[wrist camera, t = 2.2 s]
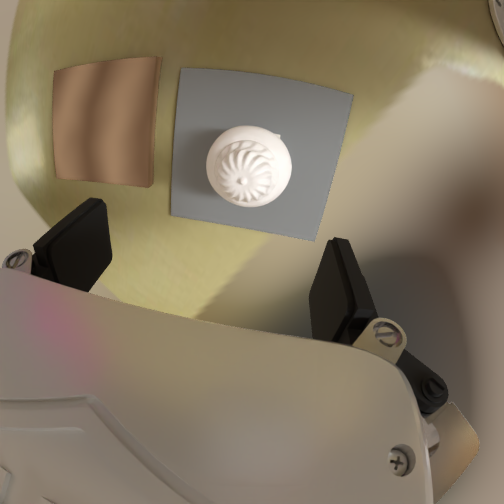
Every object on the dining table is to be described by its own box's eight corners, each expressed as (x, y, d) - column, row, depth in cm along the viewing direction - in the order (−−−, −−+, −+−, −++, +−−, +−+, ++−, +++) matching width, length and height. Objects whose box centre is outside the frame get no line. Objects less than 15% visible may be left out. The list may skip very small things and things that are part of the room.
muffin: (205, 136, 21) (176, 156, 16) (274, 109, 20) (271, 117, 14) (234, 199, 24) (217, 239, 19) (300, 177, 23) (306, 212, 17)
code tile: (352, 94, 18) (353, 95, 18) (314, 239, 26) (314, 241, 26) (182, 67, 18) (181, 67, 18) (172, 214, 26) (170, 215, 26)
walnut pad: (162, 57, 18) (156, 56, 17) (153, 183, 24) (148, 187, 24) (61, 70, 18) (54, 70, 17) (63, 174, 24) (56, 178, 24)
